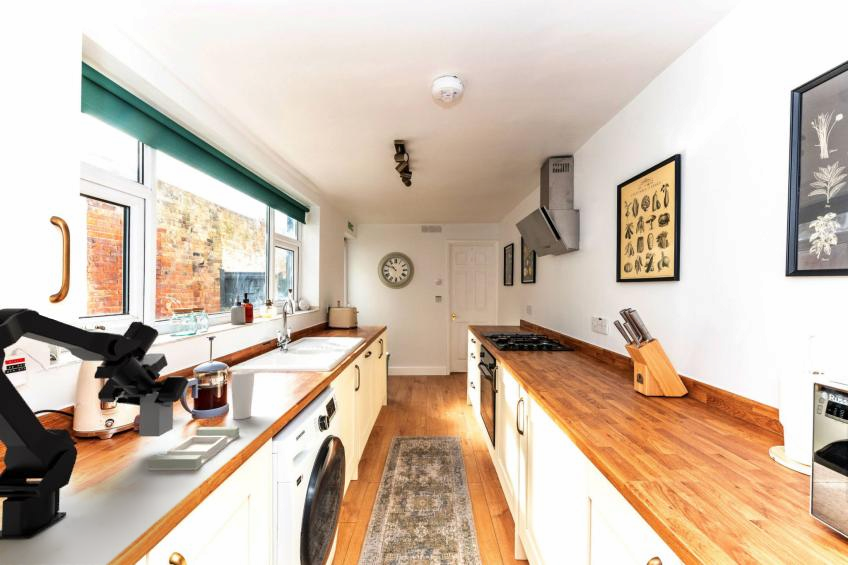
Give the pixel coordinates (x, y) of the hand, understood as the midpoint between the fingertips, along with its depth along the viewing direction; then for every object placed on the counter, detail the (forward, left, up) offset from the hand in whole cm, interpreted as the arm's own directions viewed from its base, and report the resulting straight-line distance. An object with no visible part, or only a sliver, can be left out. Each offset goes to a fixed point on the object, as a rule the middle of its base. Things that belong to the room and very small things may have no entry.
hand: (160, 405), depth 95 cm
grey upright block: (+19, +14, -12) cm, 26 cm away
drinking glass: (+24, -10, -12) cm, 28 cm away
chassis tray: (-1, -11, -11) cm, 16 cm away
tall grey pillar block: (-1, 0, -7) cm, 7 cm away
